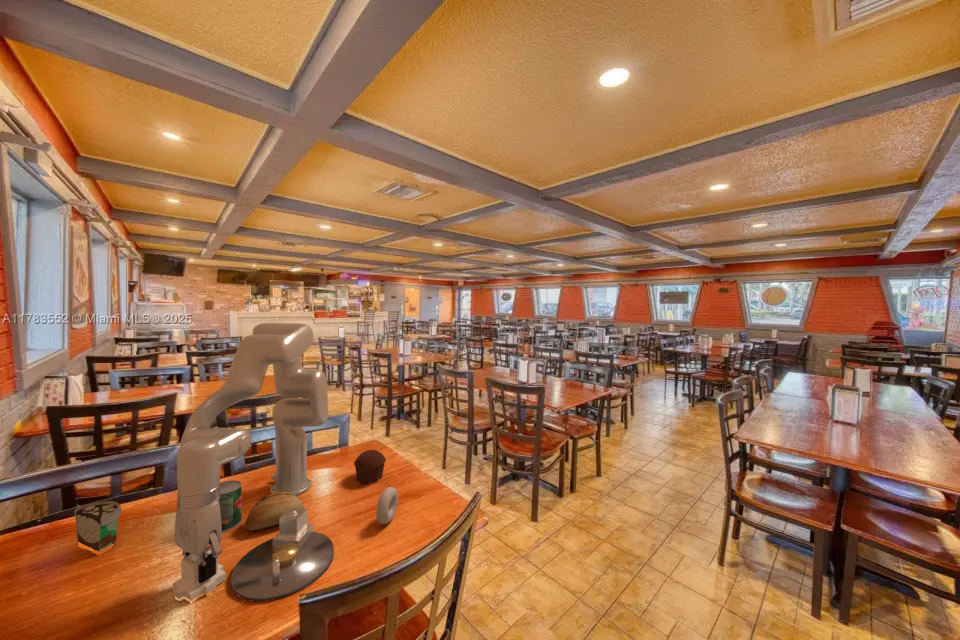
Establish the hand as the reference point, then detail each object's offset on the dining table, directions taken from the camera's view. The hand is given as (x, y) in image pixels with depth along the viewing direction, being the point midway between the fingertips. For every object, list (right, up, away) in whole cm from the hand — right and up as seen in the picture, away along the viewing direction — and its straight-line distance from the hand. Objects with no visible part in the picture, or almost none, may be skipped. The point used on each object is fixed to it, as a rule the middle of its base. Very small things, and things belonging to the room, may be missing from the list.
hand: (199, 573), depth 80 cm
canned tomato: (-11, -2, +23) cm, 25 cm away
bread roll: (+3, -3, +24) cm, 24 cm away
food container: (-36, -2, +13) cm, 38 cm away
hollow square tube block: (0, -3, 0) cm, 3 cm away
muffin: (+22, -2, +51) cm, 56 cm away
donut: (+36, -3, +26) cm, 44 cm away
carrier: (+15, -3, +7) cm, 17 cm away
